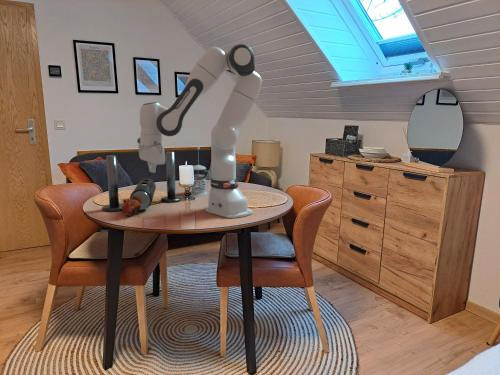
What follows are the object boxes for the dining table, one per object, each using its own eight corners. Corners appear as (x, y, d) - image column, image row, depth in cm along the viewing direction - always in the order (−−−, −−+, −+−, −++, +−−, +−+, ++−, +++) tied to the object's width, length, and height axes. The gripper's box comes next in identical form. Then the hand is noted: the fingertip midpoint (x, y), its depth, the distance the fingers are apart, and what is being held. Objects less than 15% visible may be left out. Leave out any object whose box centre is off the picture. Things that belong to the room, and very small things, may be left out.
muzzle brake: (156, 197, 184) (156, 177, 182) (152, 212, 157) (151, 189, 155) (137, 197, 183) (136, 177, 180) (129, 213, 156) (128, 190, 154)
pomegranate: (143, 218, 156) (129, 202, 158) (149, 207, 152) (134, 191, 154) (130, 224, 150) (115, 208, 152) (135, 213, 146) (120, 196, 148)
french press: (187, 191, 197) (186, 146, 192) (207, 190, 202) (207, 145, 197) (192, 195, 189) (191, 148, 183) (213, 193, 193) (213, 147, 188)
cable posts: (185, 200, 178) (184, 152, 173) (106, 213, 155) (102, 158, 150) (176, 196, 185) (174, 150, 180) (99, 207, 162) (95, 155, 157)
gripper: (168, 142, 149) (169, 175, 152) (149, 138, 165) (150, 168, 168) (154, 143, 145) (155, 176, 148) (135, 139, 161) (136, 169, 164)
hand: (152, 172), depth 158 cm, fingers closed
